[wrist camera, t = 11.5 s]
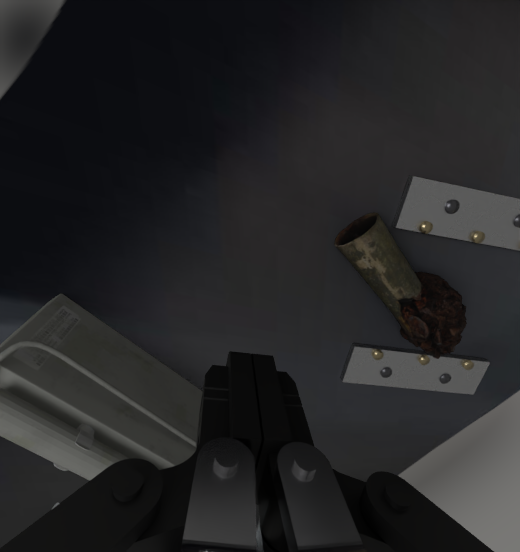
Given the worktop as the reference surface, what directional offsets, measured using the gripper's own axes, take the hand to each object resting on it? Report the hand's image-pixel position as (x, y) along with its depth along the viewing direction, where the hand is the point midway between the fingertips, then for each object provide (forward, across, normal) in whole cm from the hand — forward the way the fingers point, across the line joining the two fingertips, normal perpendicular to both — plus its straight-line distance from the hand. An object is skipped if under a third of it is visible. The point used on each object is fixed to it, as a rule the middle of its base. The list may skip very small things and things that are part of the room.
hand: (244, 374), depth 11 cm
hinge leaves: (+22, -25, +4) cm, 33 cm away
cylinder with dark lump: (+22, -19, +3) cm, 29 cm away
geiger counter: (+22, +6, +17) cm, 29 cm away
